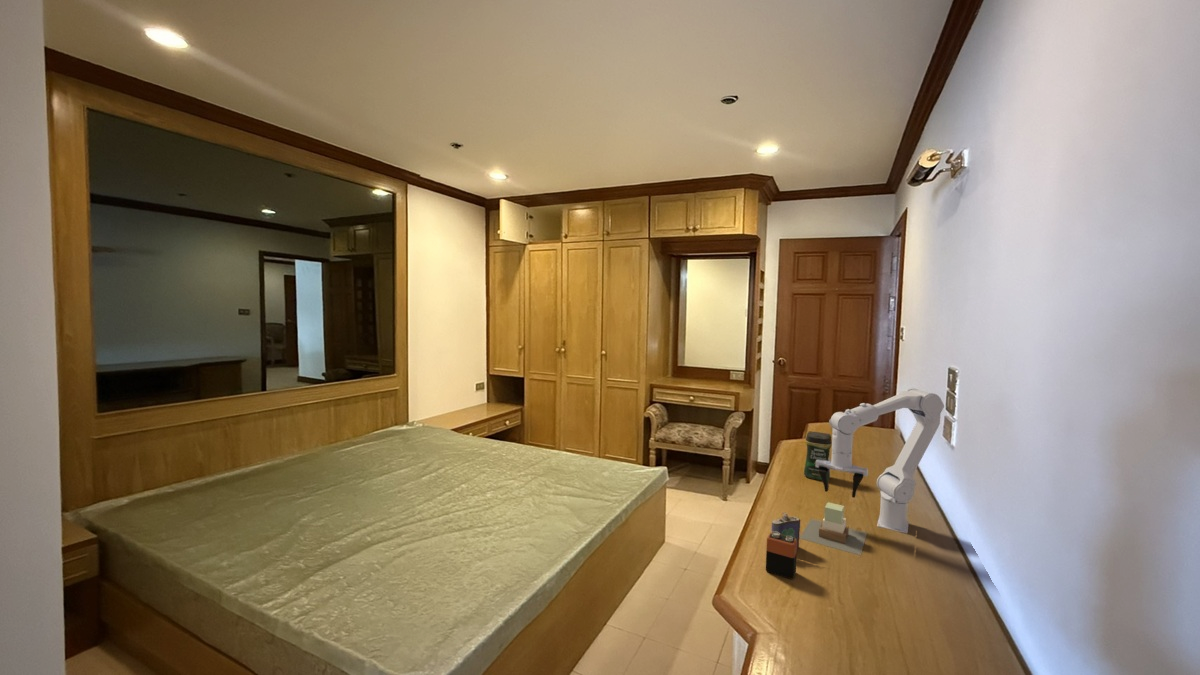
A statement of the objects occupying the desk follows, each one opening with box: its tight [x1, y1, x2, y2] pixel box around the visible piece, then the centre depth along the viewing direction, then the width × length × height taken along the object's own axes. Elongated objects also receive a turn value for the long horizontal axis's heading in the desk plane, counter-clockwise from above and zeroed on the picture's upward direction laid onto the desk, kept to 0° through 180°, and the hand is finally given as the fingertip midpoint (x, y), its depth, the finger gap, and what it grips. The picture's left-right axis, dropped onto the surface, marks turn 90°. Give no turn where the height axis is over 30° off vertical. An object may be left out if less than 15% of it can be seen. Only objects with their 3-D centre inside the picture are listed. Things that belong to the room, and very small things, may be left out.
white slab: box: [822, 517, 847, 534], centre depth 140 cm, size 6×6×2 cm
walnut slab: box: [819, 521, 850, 544], centre depth 140 cm, size 7×7×2 cm
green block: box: [823, 502, 845, 524], centre depth 140 cm, size 4×4×4 cm
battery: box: [765, 531, 798, 580], centre depth 121 cm, size 4×7×10 cm, turn 57°
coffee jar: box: [803, 430, 832, 481], centre depth 189 cm, size 10×8×19 cm
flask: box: [770, 511, 801, 550], centre depth 132 cm, size 9×3×11 cm, turn 109°
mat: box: [799, 518, 868, 556], centre depth 140 cm, size 16×16×1 cm
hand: (839, 493), depth 147 cm, fingers open, 7 cm apart
